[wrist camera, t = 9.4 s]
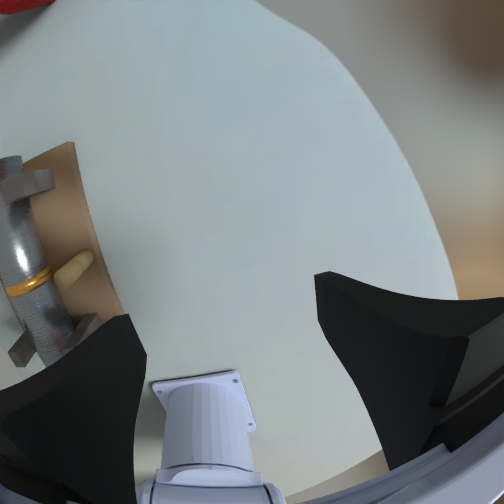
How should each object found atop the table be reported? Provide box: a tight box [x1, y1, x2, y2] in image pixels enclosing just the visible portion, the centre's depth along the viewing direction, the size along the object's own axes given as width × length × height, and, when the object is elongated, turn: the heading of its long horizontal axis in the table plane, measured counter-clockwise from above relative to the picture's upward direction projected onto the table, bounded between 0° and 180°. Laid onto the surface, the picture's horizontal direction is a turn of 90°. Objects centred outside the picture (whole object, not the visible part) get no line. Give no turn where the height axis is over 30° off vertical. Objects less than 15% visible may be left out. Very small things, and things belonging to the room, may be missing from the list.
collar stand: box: [0, 142, 124, 367], centre depth 15 cm, size 15×11×6 cm
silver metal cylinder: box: [0, 156, 76, 368], centre depth 15 cm, size 15×4×4 cm, turn 10°
